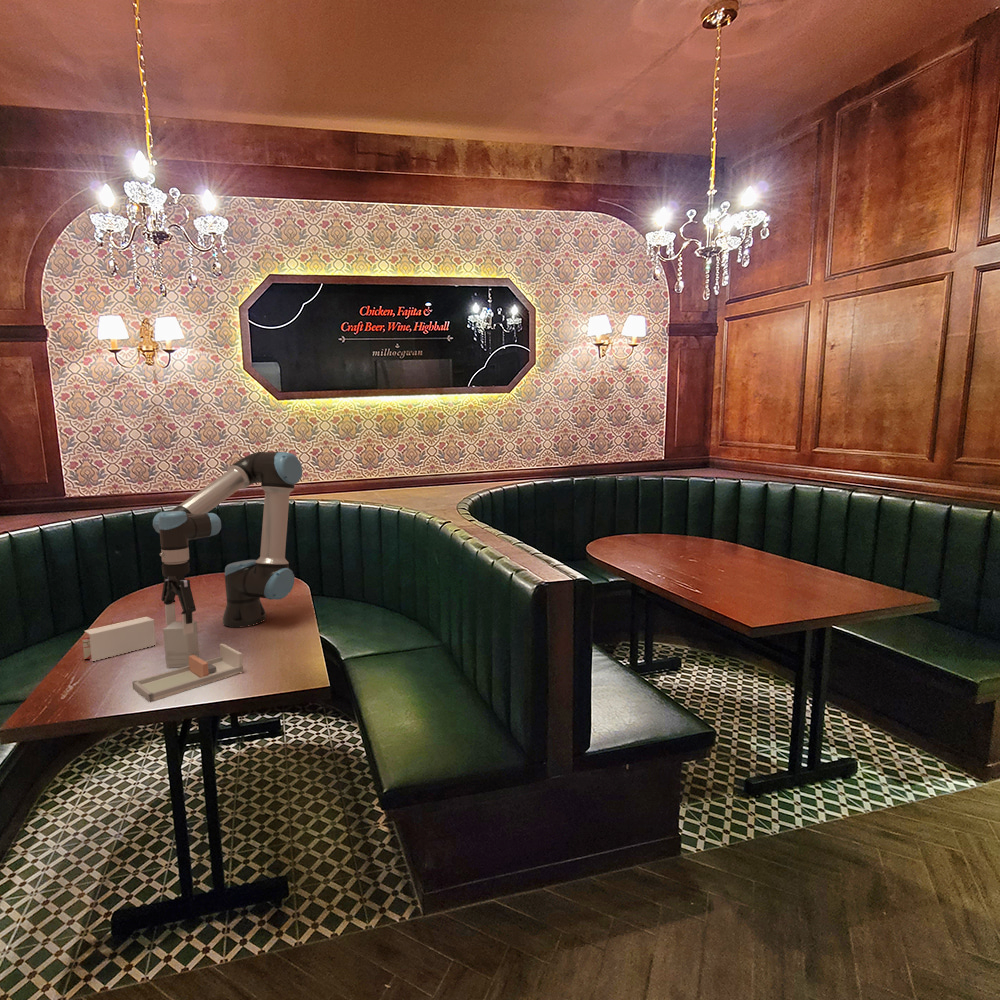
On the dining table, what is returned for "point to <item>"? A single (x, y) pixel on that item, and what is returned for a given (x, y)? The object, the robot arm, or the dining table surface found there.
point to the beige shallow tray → (189, 676)
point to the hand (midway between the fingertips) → (179, 628)
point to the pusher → (200, 666)
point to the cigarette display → (119, 638)
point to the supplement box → (180, 644)
